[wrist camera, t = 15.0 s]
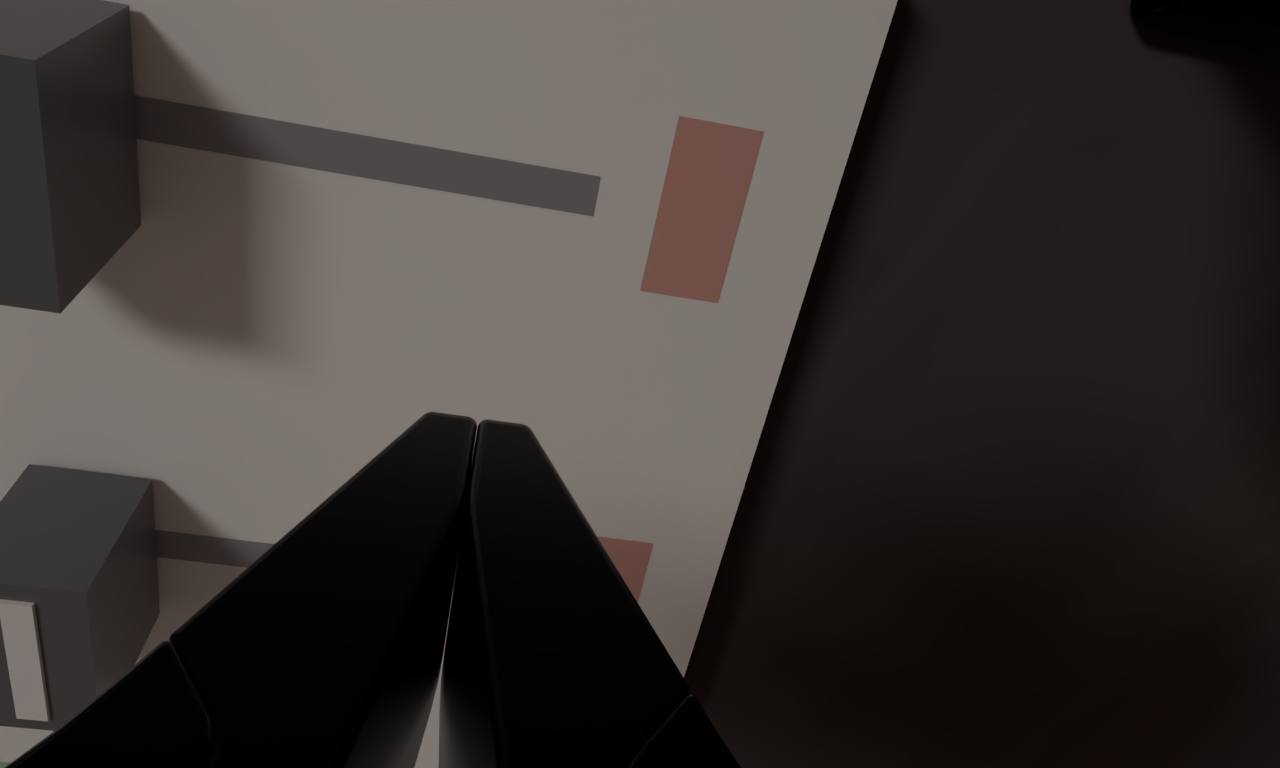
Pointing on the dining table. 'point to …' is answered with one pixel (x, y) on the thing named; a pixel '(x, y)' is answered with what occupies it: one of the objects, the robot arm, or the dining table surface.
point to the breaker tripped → (72, 589)
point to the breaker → (64, 147)
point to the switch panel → (449, 266)
